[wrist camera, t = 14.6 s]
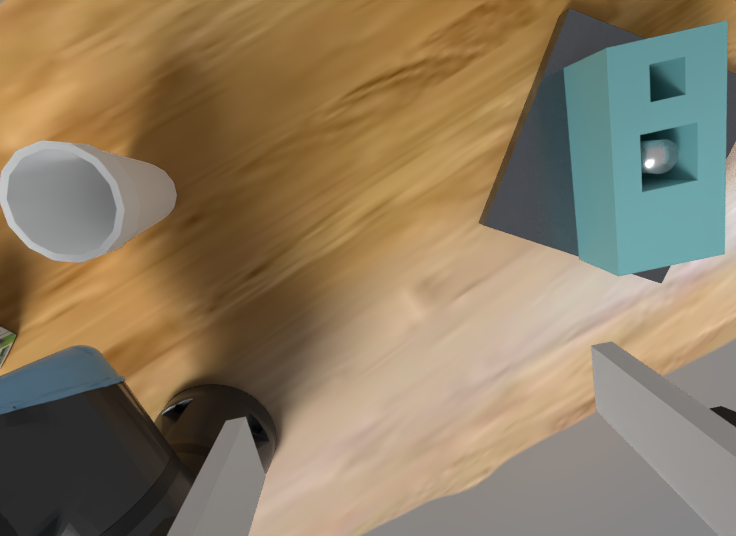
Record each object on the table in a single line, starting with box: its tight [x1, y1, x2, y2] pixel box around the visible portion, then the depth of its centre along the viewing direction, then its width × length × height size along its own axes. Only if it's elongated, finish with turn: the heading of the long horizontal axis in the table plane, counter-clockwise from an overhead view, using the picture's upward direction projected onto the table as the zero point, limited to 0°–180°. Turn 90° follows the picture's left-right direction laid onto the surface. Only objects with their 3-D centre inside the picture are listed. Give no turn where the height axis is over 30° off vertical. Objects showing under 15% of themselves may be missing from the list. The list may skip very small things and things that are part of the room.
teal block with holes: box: [564, 21, 728, 276], centre depth 38 cm, size 20×10×7 cm, turn 12°
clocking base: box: [479, 9, 736, 283], centre depth 40 cm, size 22×22×8 cm
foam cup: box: [0, 140, 177, 263], centre depth 37 cm, size 10×9×13 cm
